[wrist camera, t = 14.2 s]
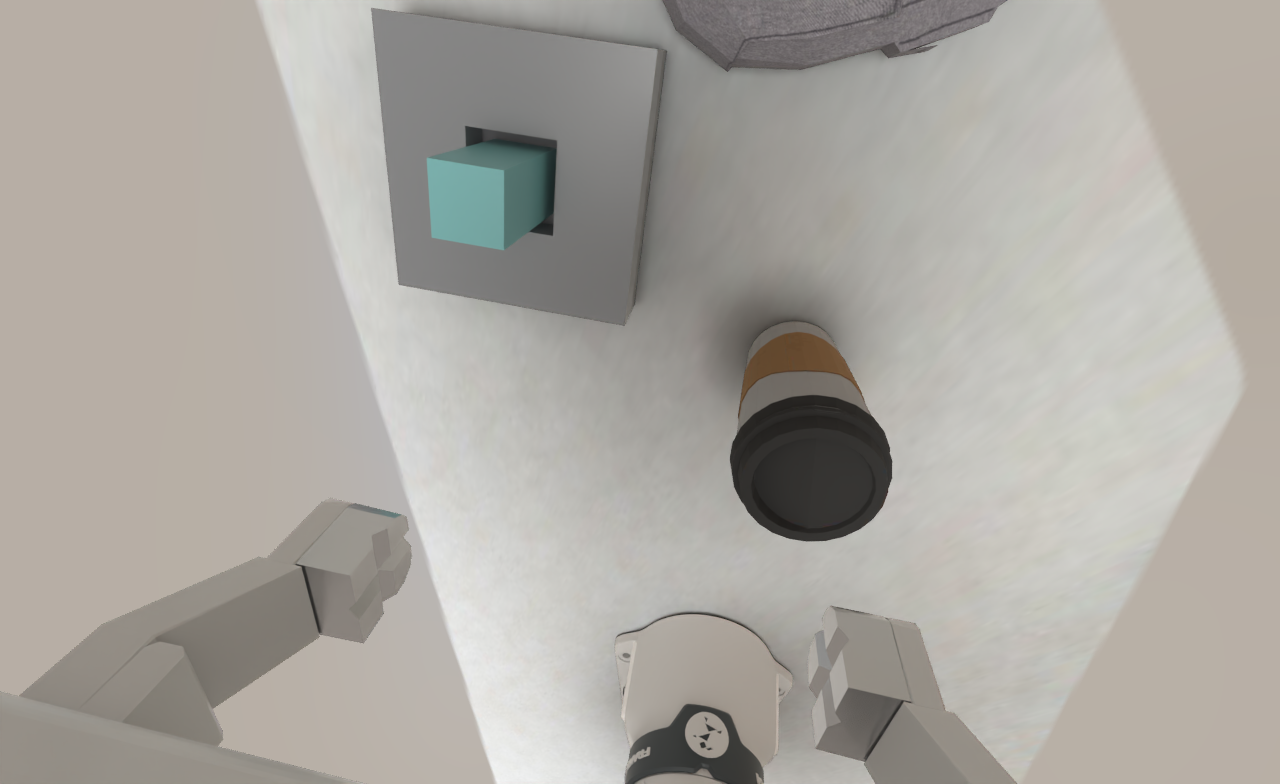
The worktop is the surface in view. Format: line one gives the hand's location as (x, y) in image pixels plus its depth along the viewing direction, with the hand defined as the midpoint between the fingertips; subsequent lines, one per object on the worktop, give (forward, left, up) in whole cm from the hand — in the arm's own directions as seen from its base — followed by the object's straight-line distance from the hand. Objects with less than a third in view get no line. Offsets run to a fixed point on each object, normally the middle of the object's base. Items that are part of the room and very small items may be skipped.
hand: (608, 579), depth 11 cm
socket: (+1, +12, -31) cm, 33 cm away
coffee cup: (-9, -8, -31) cm, 34 cm away
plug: (+1, +12, -30) cm, 32 cm away
